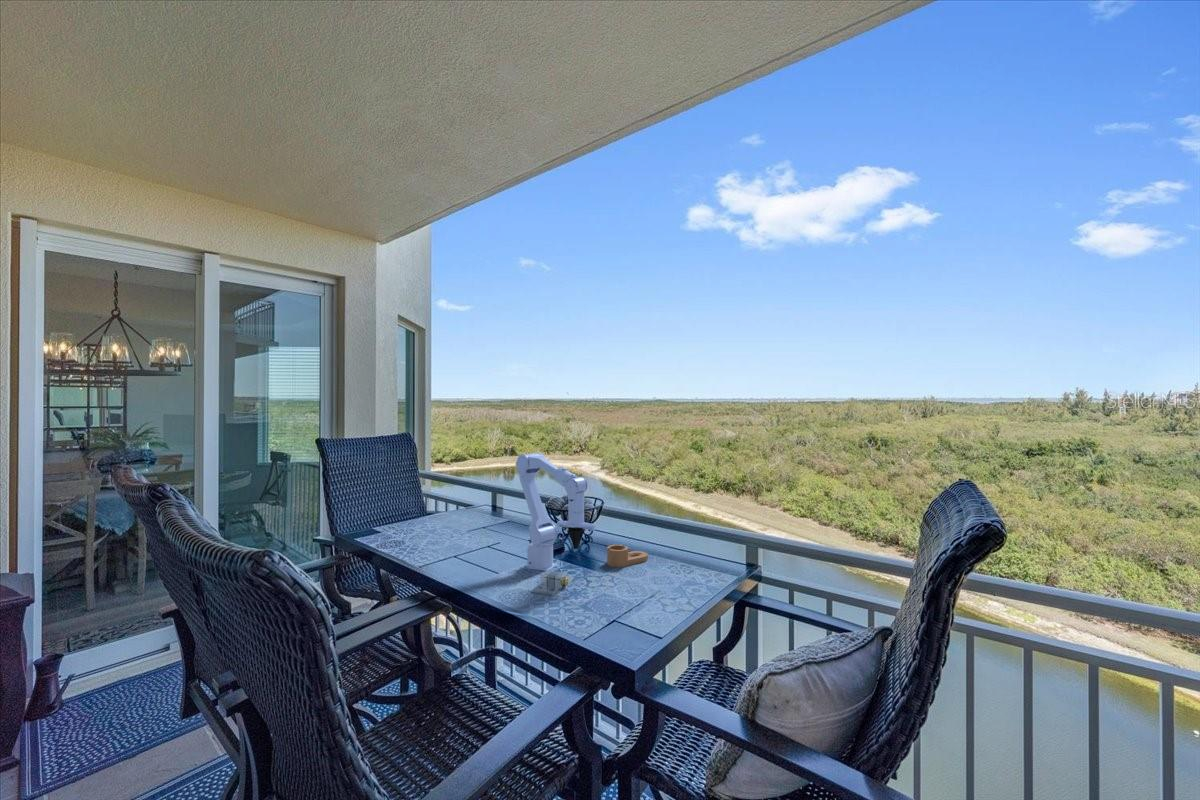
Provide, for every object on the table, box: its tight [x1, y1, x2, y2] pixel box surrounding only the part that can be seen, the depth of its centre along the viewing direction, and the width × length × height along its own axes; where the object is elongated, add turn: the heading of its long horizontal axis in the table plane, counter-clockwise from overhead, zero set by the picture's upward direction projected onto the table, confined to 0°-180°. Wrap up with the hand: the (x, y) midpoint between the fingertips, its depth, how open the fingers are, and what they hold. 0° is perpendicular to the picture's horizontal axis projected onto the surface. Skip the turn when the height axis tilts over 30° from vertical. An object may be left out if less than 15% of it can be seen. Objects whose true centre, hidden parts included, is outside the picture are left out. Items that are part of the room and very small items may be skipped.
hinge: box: [531, 570, 575, 597], centre depth 165 cm, size 8×16×4 cm, turn 159°
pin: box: [562, 578, 570, 587], centre depth 165 cm, size 9×2×2 cm, turn 69°
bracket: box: [606, 544, 649, 568], centre depth 189 cm, size 18×8×7 cm, turn 123°
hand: (576, 548), depth 173 cm, fingers closed
